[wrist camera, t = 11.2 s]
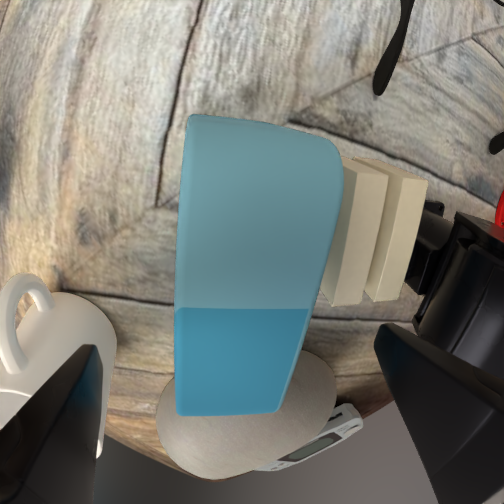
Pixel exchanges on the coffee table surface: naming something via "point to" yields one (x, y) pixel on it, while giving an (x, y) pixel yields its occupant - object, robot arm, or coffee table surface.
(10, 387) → the mug
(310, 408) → the white rounded slab
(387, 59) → the glasses
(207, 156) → the data package
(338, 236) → the cream books
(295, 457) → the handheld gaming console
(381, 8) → the coffee table surface
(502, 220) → the ornament
